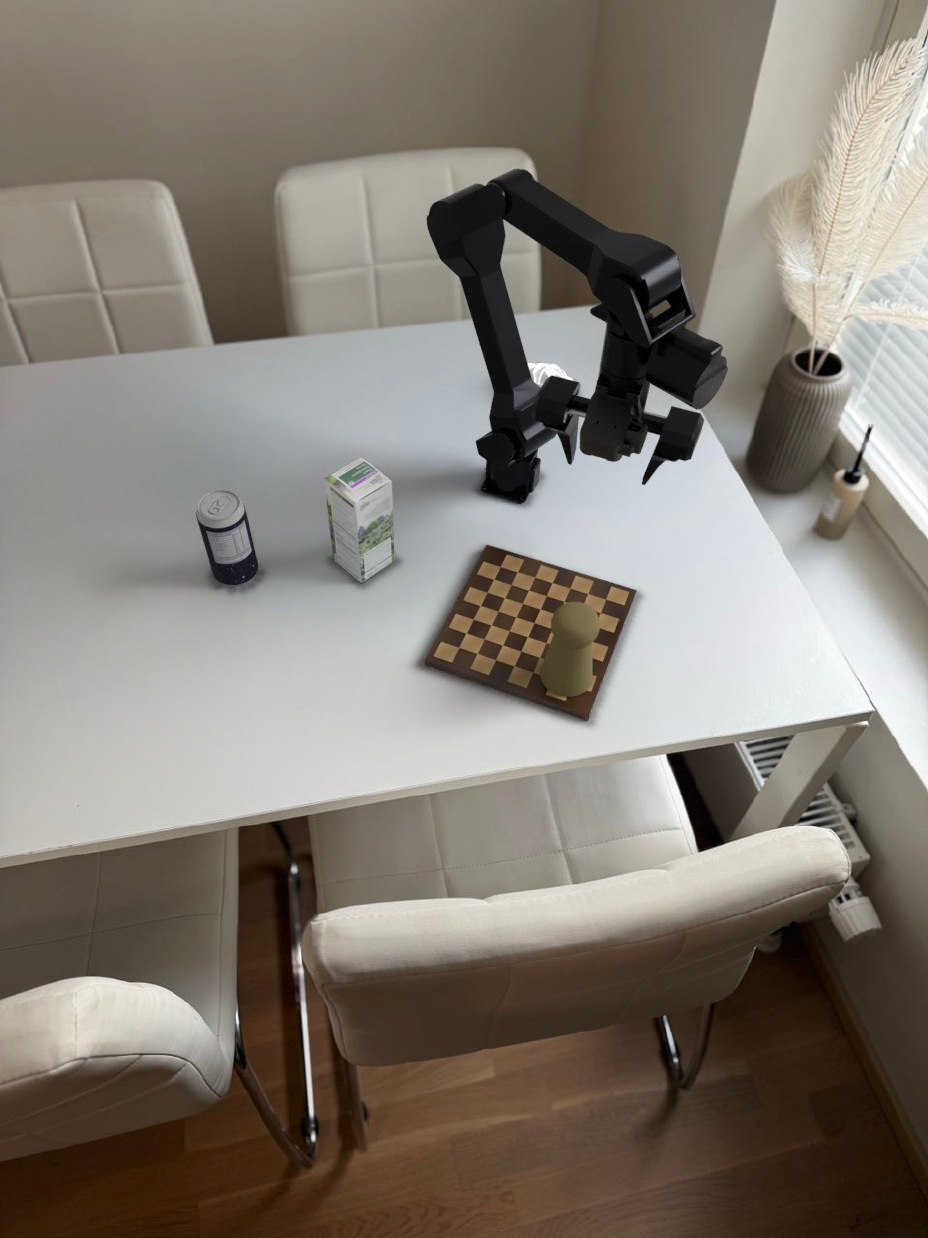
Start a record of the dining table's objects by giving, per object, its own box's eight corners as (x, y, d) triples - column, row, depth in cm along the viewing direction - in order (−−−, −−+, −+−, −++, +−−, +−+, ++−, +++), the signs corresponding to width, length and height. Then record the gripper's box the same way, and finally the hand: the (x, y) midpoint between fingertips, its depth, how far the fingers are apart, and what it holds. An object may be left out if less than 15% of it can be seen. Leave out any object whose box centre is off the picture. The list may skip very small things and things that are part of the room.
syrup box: (366, 538, 120) (359, 453, 109) (397, 562, 118) (392, 478, 106) (332, 560, 118) (321, 476, 106) (363, 586, 115) (354, 502, 104)
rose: (514, 347, 140) (578, 348, 140) (512, 371, 143) (575, 372, 143) (515, 387, 133) (582, 389, 133) (513, 412, 137) (579, 414, 137)
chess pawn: (578, 705, 103) (590, 646, 94) (530, 682, 105) (538, 621, 96) (601, 668, 106) (615, 607, 98) (554, 646, 108) (564, 584, 100)
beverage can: (267, 563, 117) (252, 494, 108) (246, 595, 114) (228, 526, 104) (227, 551, 118) (209, 482, 109) (205, 583, 115) (184, 514, 106)
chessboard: (424, 665, 108) (424, 659, 107) (486, 549, 119) (486, 543, 118) (588, 721, 103) (589, 715, 102) (635, 595, 115) (637, 589, 114)
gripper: (520, 384, 97) (511, 494, 109) (695, 430, 92) (666, 538, 105) (553, 328, 103) (542, 437, 115) (719, 368, 99) (688, 477, 111)
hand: (607, 472), depth 111 cm, fingers open, 9 cm apart
